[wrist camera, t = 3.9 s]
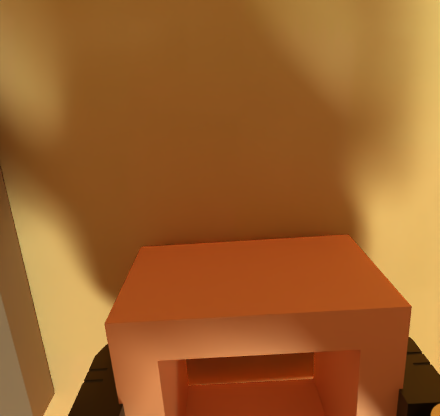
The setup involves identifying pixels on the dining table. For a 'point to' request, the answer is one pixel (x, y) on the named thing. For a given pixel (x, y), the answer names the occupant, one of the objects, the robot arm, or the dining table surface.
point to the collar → (259, 328)
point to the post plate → (19, 330)
